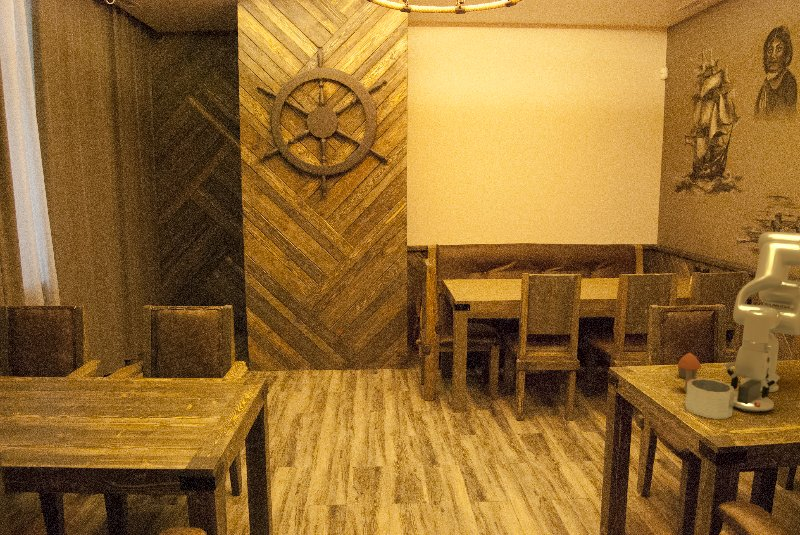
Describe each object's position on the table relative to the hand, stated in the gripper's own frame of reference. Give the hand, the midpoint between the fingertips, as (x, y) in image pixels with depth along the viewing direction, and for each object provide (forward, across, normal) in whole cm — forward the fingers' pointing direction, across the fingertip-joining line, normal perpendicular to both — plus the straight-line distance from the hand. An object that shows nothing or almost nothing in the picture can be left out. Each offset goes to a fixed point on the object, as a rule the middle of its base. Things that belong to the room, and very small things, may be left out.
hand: (749, 393), depth 211 cm
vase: (+5, +27, -12) cm, 30 cm away
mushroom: (+5, +20, +2) cm, 21 cm away
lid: (+5, 0, 0) cm, 5 cm away
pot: (+5, +7, +14) cm, 17 cm away
